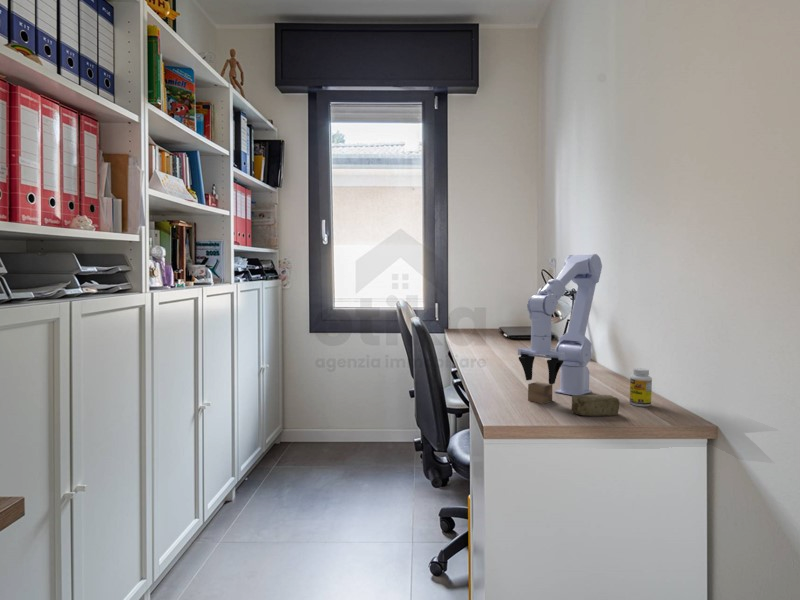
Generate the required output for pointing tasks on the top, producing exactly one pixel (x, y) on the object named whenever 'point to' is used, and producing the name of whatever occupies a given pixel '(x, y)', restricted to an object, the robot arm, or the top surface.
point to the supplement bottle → (640, 388)
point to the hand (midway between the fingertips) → (540, 381)
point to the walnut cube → (540, 392)
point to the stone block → (595, 405)
